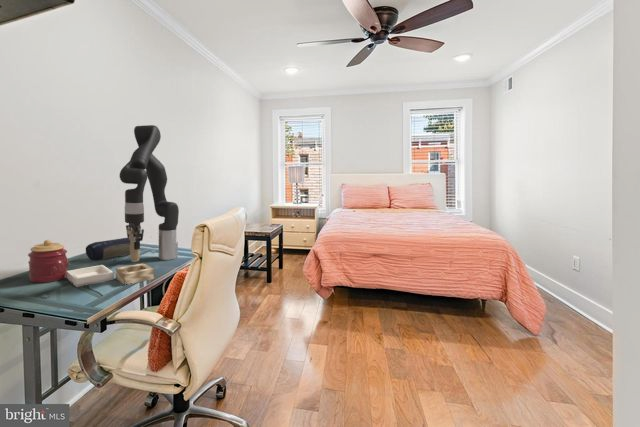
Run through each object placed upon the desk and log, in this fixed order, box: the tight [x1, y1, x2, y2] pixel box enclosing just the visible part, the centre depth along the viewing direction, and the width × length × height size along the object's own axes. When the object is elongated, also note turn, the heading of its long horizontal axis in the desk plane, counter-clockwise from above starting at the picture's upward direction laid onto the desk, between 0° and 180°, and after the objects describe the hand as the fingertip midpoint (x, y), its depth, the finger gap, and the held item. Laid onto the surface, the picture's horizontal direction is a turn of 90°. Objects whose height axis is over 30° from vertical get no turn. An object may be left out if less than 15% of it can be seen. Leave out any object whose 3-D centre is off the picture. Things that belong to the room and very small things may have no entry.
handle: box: [126, 229, 141, 263], centre depth 140 cm, size 5×6×15 cm
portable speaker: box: [85, 237, 130, 261], centre depth 170 cm, size 25×10×10 cm, turn 151°
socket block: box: [115, 263, 155, 286], centre depth 142 cm, size 12×11×5 cm
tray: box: [66, 264, 115, 288], centre depth 138 cm, size 14×14×4 cm
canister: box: [27, 239, 69, 284], centre depth 134 cm, size 13×13×18 cm
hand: (135, 248), depth 140 cm, fingers closed on handle, 4 cm apart
